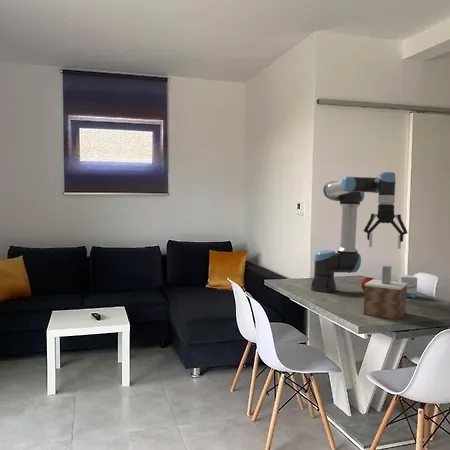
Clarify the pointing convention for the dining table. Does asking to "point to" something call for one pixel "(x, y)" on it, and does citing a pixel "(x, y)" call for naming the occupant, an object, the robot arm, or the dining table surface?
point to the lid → (386, 280)
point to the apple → (365, 282)
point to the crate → (385, 302)
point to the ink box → (410, 284)
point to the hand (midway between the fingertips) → (384, 247)
